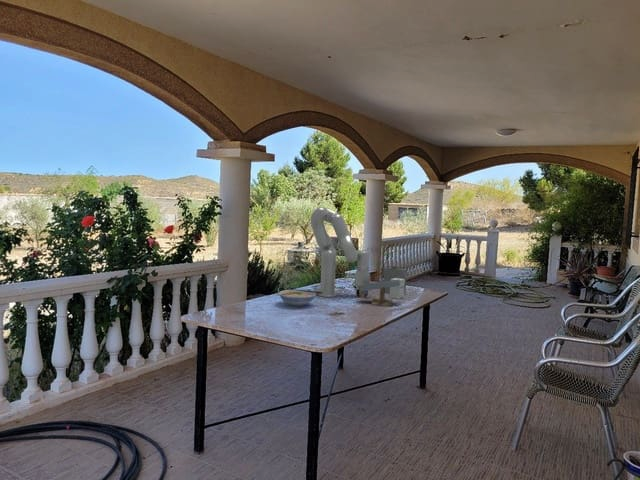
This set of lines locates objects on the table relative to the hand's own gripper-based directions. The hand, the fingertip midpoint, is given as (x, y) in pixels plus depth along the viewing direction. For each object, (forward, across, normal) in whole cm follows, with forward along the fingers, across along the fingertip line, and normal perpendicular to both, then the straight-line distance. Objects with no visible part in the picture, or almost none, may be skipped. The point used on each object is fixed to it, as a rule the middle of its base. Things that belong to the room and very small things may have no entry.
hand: (362, 295), depth 311 cm
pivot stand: (+1, +14, -16) cm, 21 cm away
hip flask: (+1, +21, +20) cm, 29 cm away
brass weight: (+1, 0, 0) cm, 1 cm away
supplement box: (+1, +23, +5) cm, 24 cm away
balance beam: (-7, +13, -16) cm, 22 cm away
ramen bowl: (+1, -36, -38) cm, 52 cm away
